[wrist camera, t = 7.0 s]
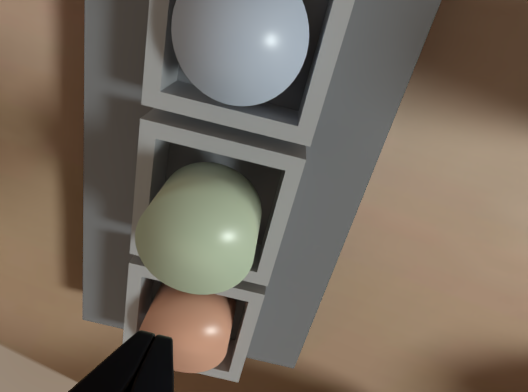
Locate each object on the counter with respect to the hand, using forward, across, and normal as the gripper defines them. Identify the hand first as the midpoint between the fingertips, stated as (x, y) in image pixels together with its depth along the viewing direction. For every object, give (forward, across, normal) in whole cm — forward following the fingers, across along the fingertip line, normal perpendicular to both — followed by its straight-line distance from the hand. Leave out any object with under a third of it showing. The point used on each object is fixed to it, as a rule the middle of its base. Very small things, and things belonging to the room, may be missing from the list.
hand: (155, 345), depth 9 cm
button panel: (+10, 0, 0) cm, 10 cm away
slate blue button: (+8, 0, -7) cm, 10 cm away
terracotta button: (+8, 0, +6) cm, 10 cm away
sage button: (+6, 0, 0) cm, 6 cm away
